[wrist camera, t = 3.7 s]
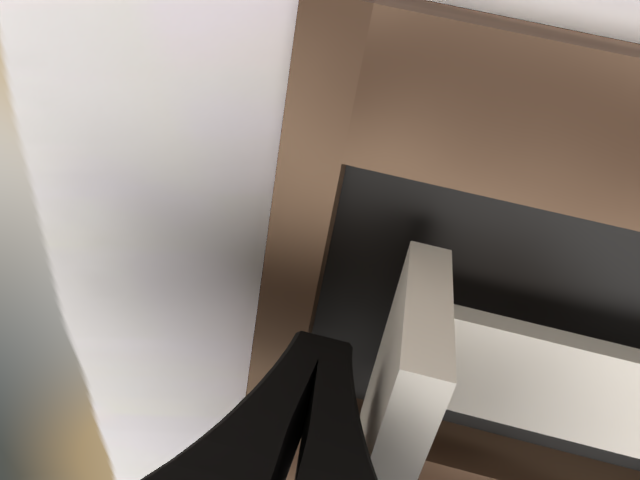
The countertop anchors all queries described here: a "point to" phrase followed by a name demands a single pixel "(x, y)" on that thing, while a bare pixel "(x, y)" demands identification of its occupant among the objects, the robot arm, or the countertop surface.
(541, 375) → the slider
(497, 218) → the deck
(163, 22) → the countertop surface
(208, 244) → the countertop surface
